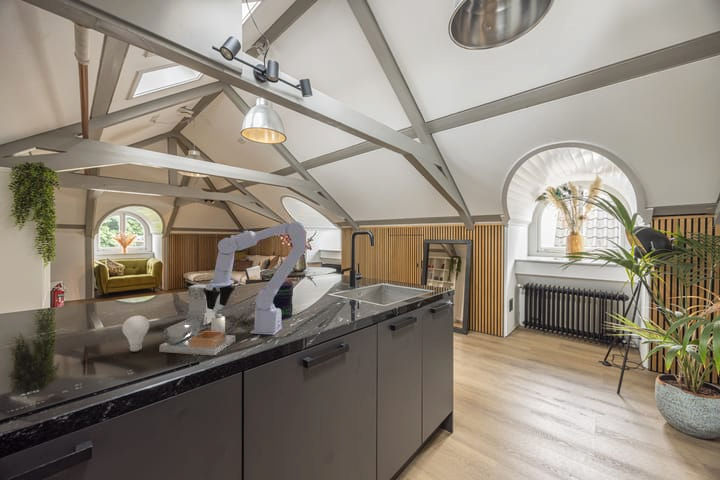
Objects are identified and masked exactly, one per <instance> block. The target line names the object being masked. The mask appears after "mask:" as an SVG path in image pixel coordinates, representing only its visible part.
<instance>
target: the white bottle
mask: <svg viewBox="0 0 720 480" xmlns="http://www.w3.org/2000/svg"><path fill="white" fill-rule="evenodd" d="M222 314H223V313H216V315H215V317H213V318H212V322H211V331H216V332H226V330H225V329H226V316H223V315H222Z"/></svg>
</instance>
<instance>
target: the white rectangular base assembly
mask: <svg viewBox="0 0 720 480" xmlns="http://www.w3.org/2000/svg"><path fill="white" fill-rule="evenodd" d="M189 318H190V317H189ZM200 330H201V325H200V322H199V321H198V320H197V319H195V318H190V319H185V320H182V321H179V322H178V323H175V324H173V325H170V326H168V327H166V328H165V329H164V330H163V332H162V339H163V341H164V343H161V344H160V345H159V346H158V347H159V350H158V351H159V353H170V354H171V353H173V354H187V355H199V354H200V356H201V355H203V356H213V355H215V356H216V355H218V354H219V353H221V352H222V351H223V349H224V348H225V349H227V348H228V347H229V346H231V345H232V344H234V343H235V342H236V339H237V337H236V335H232V334H231V335H229V334H227V331H225V332H216V331H212V330H204V331H202V332H200ZM233 342H234V343H233ZM227 346H228V347H227ZM226 347H227V348H226ZM225 349H224V350H225ZM221 350H222V351H221ZM220 351H221V352H220ZM218 352H219V353H218ZM217 353H218V354H217Z"/></svg>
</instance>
